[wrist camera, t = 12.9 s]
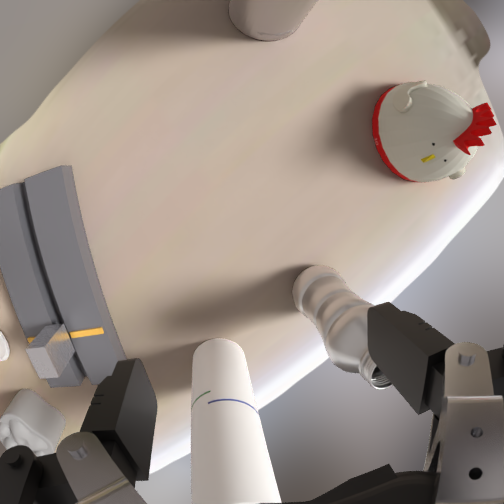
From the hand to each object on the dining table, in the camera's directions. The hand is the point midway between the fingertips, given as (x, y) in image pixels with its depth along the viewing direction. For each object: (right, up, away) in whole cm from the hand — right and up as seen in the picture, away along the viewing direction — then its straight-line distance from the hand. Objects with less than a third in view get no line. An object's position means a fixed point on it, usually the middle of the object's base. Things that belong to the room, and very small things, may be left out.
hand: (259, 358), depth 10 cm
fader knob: (-25, -6, +27) cm, 37 cm away
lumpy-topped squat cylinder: (-38, -26, +30) cm, 55 cm away
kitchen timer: (+22, +20, +28) cm, 41 cm away
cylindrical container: (-5, -11, +32) cm, 34 cm away
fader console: (-26, -1, +26) cm, 36 cm away
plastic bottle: (+8, -1, +31) cm, 32 cm away
